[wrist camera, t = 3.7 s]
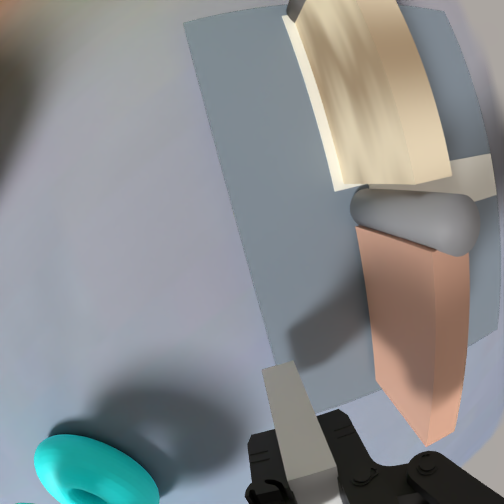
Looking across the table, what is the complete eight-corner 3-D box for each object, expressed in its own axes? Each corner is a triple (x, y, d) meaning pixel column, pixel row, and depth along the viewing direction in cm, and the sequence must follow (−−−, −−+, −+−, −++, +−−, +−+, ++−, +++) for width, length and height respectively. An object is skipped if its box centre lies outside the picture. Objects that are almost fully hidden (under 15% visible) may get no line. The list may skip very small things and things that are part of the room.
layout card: (184, 29, 13) (182, 22, 12) (437, 15, 13) (444, 11, 12) (289, 412, 17) (292, 421, 16) (490, 325, 18) (498, 329, 17)
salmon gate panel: (346, 193, 14) (434, 200, 7) (379, 184, 14) (476, 189, 7) (374, 380, 16) (430, 456, 10) (400, 369, 16) (462, 437, 10)
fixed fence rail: (281, 0, 12) (313, -84, 5) (317, -2, 12) (363, -78, 6) (339, 184, 14) (421, 186, 8) (375, 176, 14) (468, 175, 8)
